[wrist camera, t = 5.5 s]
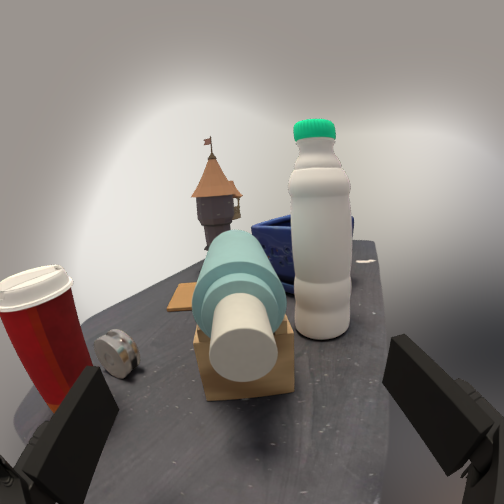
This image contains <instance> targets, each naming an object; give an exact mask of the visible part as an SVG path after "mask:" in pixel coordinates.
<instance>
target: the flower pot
mask: <svg viewBox="0 0 504 504" xmlns="http://www.w3.org/2000/svg"><path fill="white" fill-rule="evenodd" d="M351 218H352V237H353V229H354V218H353V217H352V216H351ZM251 231H252V235H253V236H254V237H255V238H256V239H257V240H258V241H259V243H260V244H261V246H262V248H263V250H264V252H265V254H266V256H267V257H268V256H269V258H268V259H269V261H270V263H271V265H272V267H273V269H274V271H275V272H276V274H277V276H278V278H279V280H280V282H281V284H282V286H283V288H284V290H285V292H288V293H292V294H294V279H295V269H294V261H293V250H292V235H291V215H287V216H283V217H279V218H275V219H272V220H269V221H265V222H261V223H259V224H256V225H253V226H252V227H251ZM276 249H277V250H278V252H277V250H276Z"/></svg>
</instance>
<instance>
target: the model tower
mask: <svg viewBox="0 0 504 504" xmlns="http://www.w3.org/2000/svg"><path fill="white" fill-rule="evenodd" d="M204 141H205V144H204V145H209V144H211V137H210V138H209V139H205V140H204ZM241 196H243V195H241V194H240V192H239V191H238V190H237V189H236V187H235V185H234V182H233V181H228V180H227V178H226V176H225V175H224V173H223V172H222V170H221V168H220V166H219V164H218V162H217V160H216V157H215V156H214V154H213V153H212V144H211V155H210V156H209V158H208V162H207V165H206V168H205V170H204V173H203V176H202V178H201V180H200V182H199V184H198V186H197V188H196V190H195V191H194V193H193V195H192V197H196V202H197V215H198V220H199V221H200V223H201V225H202V226H204V230H205V237H206V242H207V246H206V247H205V249H204V250H207V251H208V250H209V247H210V245H211V243H212V241H213V240H214V239H215V238H216V237H217V236H218V235H220V234H221V233H223V232H225V231H229V230H230V224H231V223H232V220H235V219H238V218H240V217H241V216H240V215H241V214H240V210H239V208H240V206H239V200H240V199H239V198H240V197H241ZM233 198H237V199H238V206H237V207H234V203H233ZM236 208H237V210H236Z"/></svg>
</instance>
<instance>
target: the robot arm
mask: <svg viewBox="0 0 504 504" xmlns="http://www.w3.org/2000/svg"><path fill="white" fill-rule="evenodd" d="M382 383H383V385H384V386H385V387H386V389H387V390H388V391H389V393H390V394H391V396H392V397H393V398H394V400H395V401H396V402H397V404H398V405H399V407H400V408H401V410H402V411H403V412H404V414H405V415H406V417H407V418H408V420H409V421H410V422H411V424H412V425H413V427H414V428H415V429H416V431H417V432H418V434H419V435H420V437H421V438H422V440H423V441H424V442H425V444H426V445H427V447H428V448H429V450H430V451H431V452H432V454H433V456H434V457H435V459H436V460H437V462H438V463H439V465H440V466H441V468H442V469H443V471H444V472H445V474H446V475H447V476H450V475H451V474H453V473H454V472H456V471H457V470H459V469H460V468H462V467H463V466H464V464H465V463H466V462H467V461H468V459H470V461H471V462H472V463H471V464H470V465H469V466H468V467H467V469H466V470H465V471H464V472H463V473H462V475H461V478H463V477H464V476H465V475H466V474H467V473H468V475H467V477H466V478H467V482H466V487H465V492H464V496H463V501H462V504H504V417H503V416H502V415H501V414H500V413H499V412H498V411H497V410H496V409H495V408H494V407H493V406H492V405H491V404H490V403H489V402H488V401H487V400H486V399H485V398H484V397H481V395H480V393H479V392H476V390H475V389H474V388H473V387H472V386H471V385H470V384H469V383H468V382H466V381H464V380H461V379H459V378H458V379H456V380H453V379H452V378H451V377H450V376H449V375H448V374H447V373H446V372H445V371H444V370H443V369H442V368H441V367H439V366H438V364H436V363H435V362H434V361H433V360H432V359H431V358H430V357H429V356H428V355H427V354H426V353H425V352H424V351H423V350H422V349H421V348H419V347H418V346H417V345H416V344H415V343H414V342H413V341H412V340H411V339H410V338H409V337H408V336H407V335H405V334H402V335H398V336H395V337H392V338H391V342H390V348H389V353H388V358H387V363H386V368H385V372H384V377H383V381H382ZM118 411H119V408H118V406H117V404H116V402H115V400H114V398H113V396H112V394H111V391H110V389H109V387H108V385H107V383H106V381H105V378H104V376H103V374H102V372H101V369H100V367H96V366H86V367H85V368H84V370H83V371H82V373H81V374H80V376H79V377H78V378H77V380H76V381H75V383H74V384H73V386H72V387H71V389H70V390H69V392H68V393H67V395H66V396H65V398H64V399H63V401H62V402H61V404H60V405H59V407H58V408H57V410H56V412H55V413H54V415H53V416H52V418H51V420H50V421H45V422H44V423H42V424H41V425H40V426H39V427H38V428H37V429H36V431H35V433H34V434H33V437H31V439H30V441H29V444H27V446H26V447H25V449H24V451H23V452H22V454H21V456H20V458H19V459H18V461H17V463H16V465H15V466H14V468H12V467H11V466H10V465H9V464H8V463H7V461H5V459H4V458H3V457H2V456H1V455H0V504H55V503H56V502H57V503H58V504H83V503H84V500H85V497H86V494H87V491H88V488H89V486H90V483H91V480H92V477H93V474H94V472H95V469H96V466H97V464H98V461H99V458H100V456H101V453H102V450H103V448H104V445H105V443H106V440H107V438H108V435H109V433H110V430H111V428H112V426H113V423H114V421H115V418H116V416H117V414H118Z"/></svg>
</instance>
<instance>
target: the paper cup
mask: <svg viewBox="0 0 504 504" xmlns="http://www.w3.org/2000/svg"><path fill="white" fill-rule="evenodd" d="M72 285H73V280H72V279H71V278H70V277H69V276H68V274H67V272H65V270H64V268H63V267H61V266H59V265H48V266H42V267H38V268H33V269H30V270H26V271H23V272H21V273H17V274H15V275H13V276H10V277H8V278H6V279H4V280H2V281H1V282H0V317H1V320H2V322H3V324H4V327H5V329H6V331H7V333H8V336H9V338H10V340H11V342H12V344H13V346H14V348H15V350H16V352H17V354H18V356H19V358H20V360H21V362H22V364H23V366H24V368H25V369H26V371H27V373H28V374H29V376H30V378H31V380H32V381H33V383H34V385H35V386H36V388H37V390H38V391H39V393H40V394H41V396H42V397H43V399H44V400H45V402H46V403H47V405H48V406H49V408H50V409H51V410H52V412H53V413H55V412H56V410H57V408H58V407H59V405H60V404H61V402H62V401H63V399H64V398H65V396H66V395H67V393H68V392H69V390H70V389H71V387H72V386H73V384H74V383H75V381H76V380H77V378H78V377H79V376H80V374H81V373H82V371H83V370H84V368H85V367H86V366H93V364H92V361H91V358H90V355H89V352H88V349H87V346H86V343H85V340H84V337H83V333H82V330H81V326H80V323H79V319H78V316H77V312H76V307H75V304H74V299H73V295H72V290H71V286H72Z"/></svg>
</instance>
